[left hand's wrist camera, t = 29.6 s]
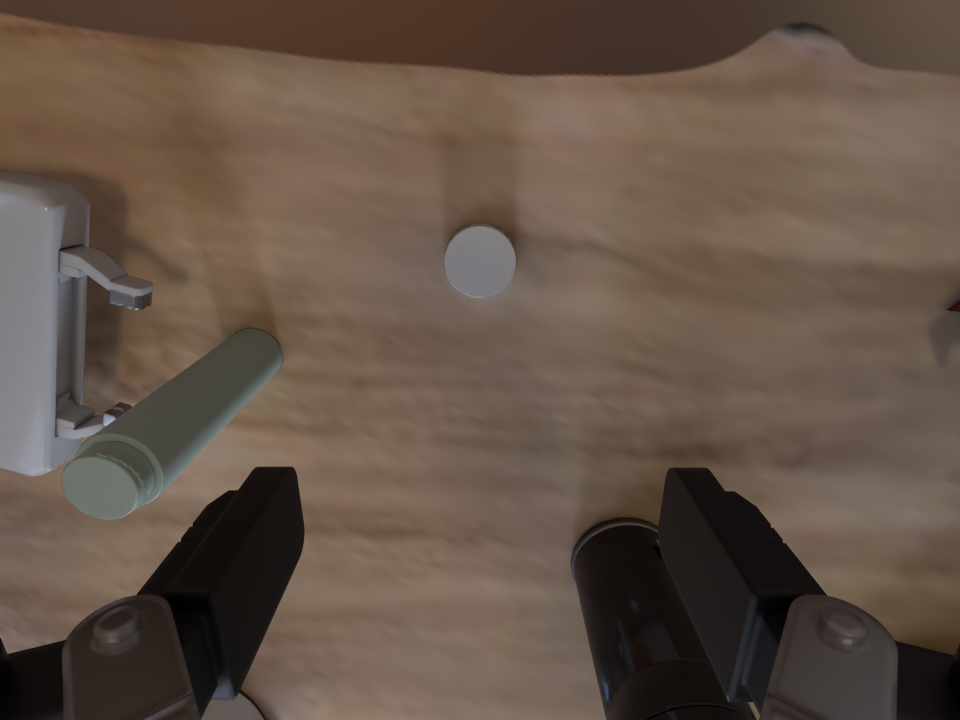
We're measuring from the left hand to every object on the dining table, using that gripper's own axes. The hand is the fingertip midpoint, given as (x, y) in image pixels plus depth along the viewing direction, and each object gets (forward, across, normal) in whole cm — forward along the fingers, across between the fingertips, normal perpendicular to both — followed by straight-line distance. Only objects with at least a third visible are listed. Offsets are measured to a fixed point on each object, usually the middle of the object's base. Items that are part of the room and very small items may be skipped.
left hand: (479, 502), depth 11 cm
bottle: (+30, +18, +7) cm, 35 cm away
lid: (+28, 0, 0) cm, 28 cm away
